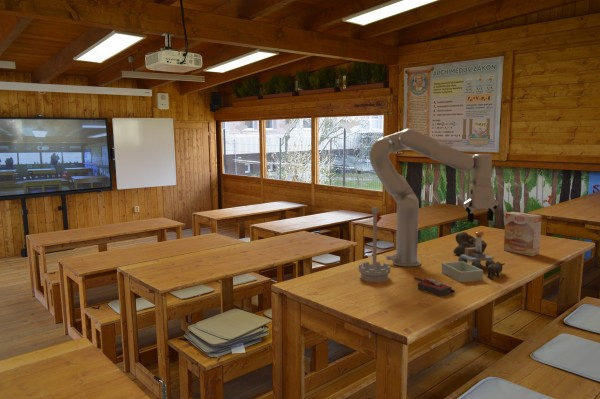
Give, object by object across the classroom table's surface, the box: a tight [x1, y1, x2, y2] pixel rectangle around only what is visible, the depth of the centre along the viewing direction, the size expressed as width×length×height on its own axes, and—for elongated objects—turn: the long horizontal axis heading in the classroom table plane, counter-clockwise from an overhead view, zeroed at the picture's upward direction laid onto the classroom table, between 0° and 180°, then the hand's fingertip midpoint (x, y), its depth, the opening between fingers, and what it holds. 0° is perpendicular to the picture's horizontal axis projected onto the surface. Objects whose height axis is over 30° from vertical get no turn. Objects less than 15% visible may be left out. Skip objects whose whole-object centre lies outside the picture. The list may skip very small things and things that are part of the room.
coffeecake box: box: [503, 211, 543, 257], centre depth 232 cm, size 15×7×20 cm, turn 37°
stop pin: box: [474, 231, 485, 255], centre depth 207 cm, size 4×4×11 cm
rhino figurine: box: [486, 261, 506, 281], centre depth 196 cm, size 4×14×6 cm, turn 135°
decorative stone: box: [452, 231, 488, 256], centre depth 231 cm, size 16×11×15 cm
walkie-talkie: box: [413, 277, 456, 297], centre depth 181 cm, size 9×4×20 cm
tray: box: [441, 261, 484, 283], centre depth 196 cm, size 10×14×4 cm
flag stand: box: [358, 206, 391, 283], centre depth 193 cm, size 13×13×30 cm
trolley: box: [457, 247, 496, 270], centre depth 209 cm, size 11×14×8 cm
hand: (480, 221), depth 205 cm, fingers open, 9 cm apart
